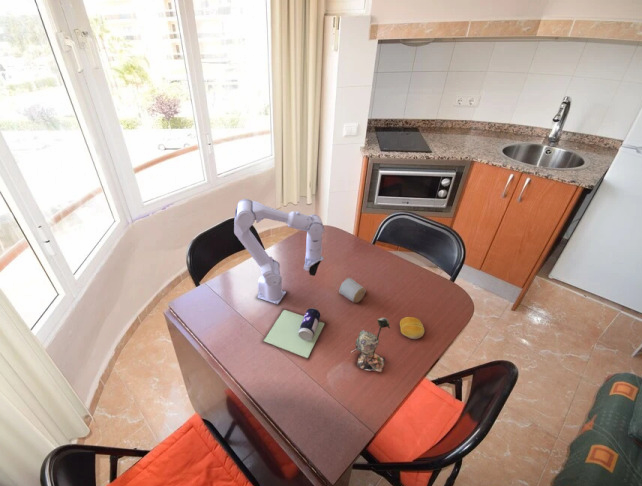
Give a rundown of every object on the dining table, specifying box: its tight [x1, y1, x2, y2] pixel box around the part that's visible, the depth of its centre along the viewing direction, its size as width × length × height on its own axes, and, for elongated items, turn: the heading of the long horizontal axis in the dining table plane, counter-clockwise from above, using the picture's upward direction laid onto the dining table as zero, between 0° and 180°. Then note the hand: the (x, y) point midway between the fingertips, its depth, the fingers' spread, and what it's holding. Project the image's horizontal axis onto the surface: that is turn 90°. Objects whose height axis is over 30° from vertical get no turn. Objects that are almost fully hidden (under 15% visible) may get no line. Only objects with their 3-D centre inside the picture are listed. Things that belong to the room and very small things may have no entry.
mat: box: [263, 309, 325, 359], centre depth 118 cm, size 17×17×1 cm
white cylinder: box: [338, 277, 367, 304], centre depth 131 cm, size 11×8×8 cm
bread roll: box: [399, 316, 425, 340], centre depth 116 cm, size 8×9×4 cm
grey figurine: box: [350, 317, 391, 373], centre depth 102 cm, size 8×11×20 cm
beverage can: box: [299, 307, 322, 341], centre depth 117 cm, size 6×6×12 cm
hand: (312, 274), depth 129 cm, fingers closed
